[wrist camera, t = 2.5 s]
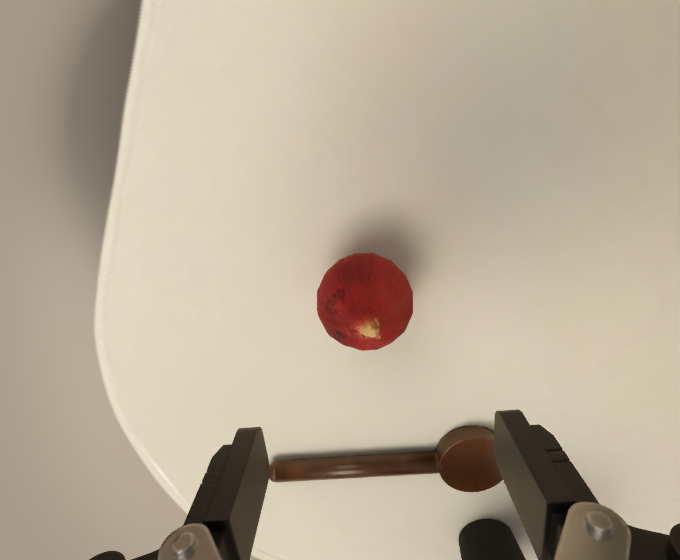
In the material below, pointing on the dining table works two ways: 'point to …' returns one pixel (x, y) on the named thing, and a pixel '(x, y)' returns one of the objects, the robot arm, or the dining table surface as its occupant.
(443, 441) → the spoon
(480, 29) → the dining table surface
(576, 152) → the dining table surface
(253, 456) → the robot arm
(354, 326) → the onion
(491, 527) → the drinking cup
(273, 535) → the dining table surface
